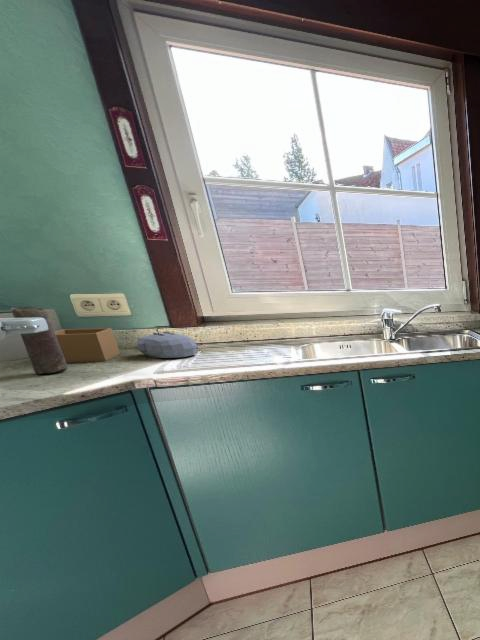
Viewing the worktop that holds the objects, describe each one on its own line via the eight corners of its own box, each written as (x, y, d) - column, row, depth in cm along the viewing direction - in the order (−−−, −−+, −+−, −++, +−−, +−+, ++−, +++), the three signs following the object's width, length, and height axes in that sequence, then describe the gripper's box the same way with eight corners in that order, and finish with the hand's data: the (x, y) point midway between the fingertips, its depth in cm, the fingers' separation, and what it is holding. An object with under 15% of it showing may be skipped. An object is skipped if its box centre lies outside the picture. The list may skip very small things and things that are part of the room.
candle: (54, 369, 158) (29, 305, 151) (76, 370, 158) (52, 306, 151) (28, 374, 151) (0, 308, 144) (51, 375, 151) (24, 308, 144)
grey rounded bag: (133, 355, 180) (163, 361, 172) (125, 332, 177) (155, 338, 169) (180, 349, 193) (210, 355, 185) (173, 328, 190) (204, 332, 182)
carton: (54, 363, 166) (43, 335, 163) (72, 356, 177) (62, 329, 174) (105, 360, 172) (96, 333, 168) (120, 353, 183) (111, 328, 179)
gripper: (28, 315, 130) (53, 310, 142) (-86, 318, 122) (-48, 312, 133) (37, 339, 132) (62, 332, 144) (-73, 343, 124) (-38, 335, 136)
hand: (8, 322), depth 138 cm, fingers open, 8 cm apart
